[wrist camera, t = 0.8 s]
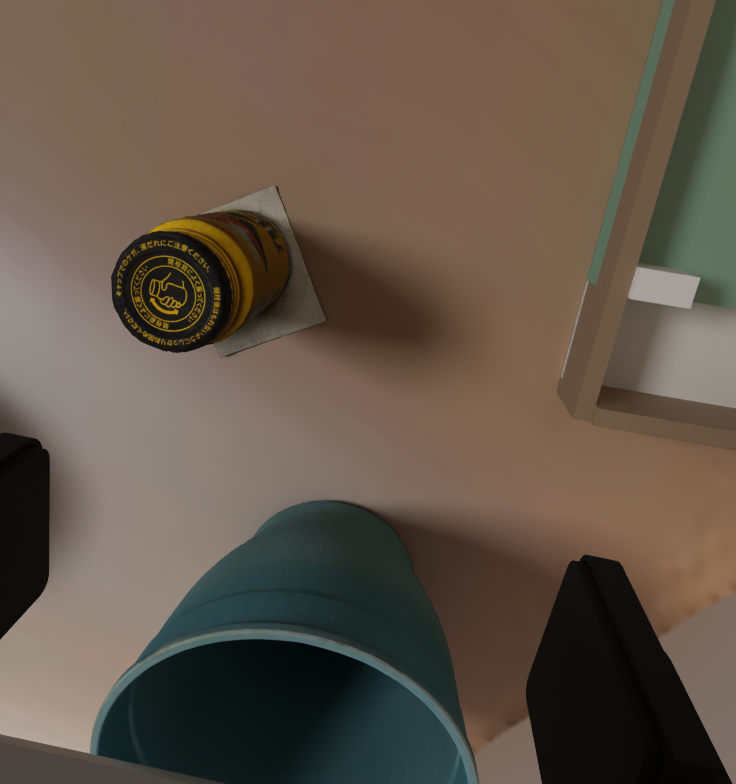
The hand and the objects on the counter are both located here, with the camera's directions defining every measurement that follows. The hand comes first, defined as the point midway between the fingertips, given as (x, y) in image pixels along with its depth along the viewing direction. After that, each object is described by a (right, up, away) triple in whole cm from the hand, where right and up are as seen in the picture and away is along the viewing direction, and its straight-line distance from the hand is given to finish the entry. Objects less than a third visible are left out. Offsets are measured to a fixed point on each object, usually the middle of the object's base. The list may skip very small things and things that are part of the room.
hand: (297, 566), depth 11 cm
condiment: (-6, +10, +27) cm, 30 cm away
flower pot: (-1, -10, +34) cm, 35 cm away
